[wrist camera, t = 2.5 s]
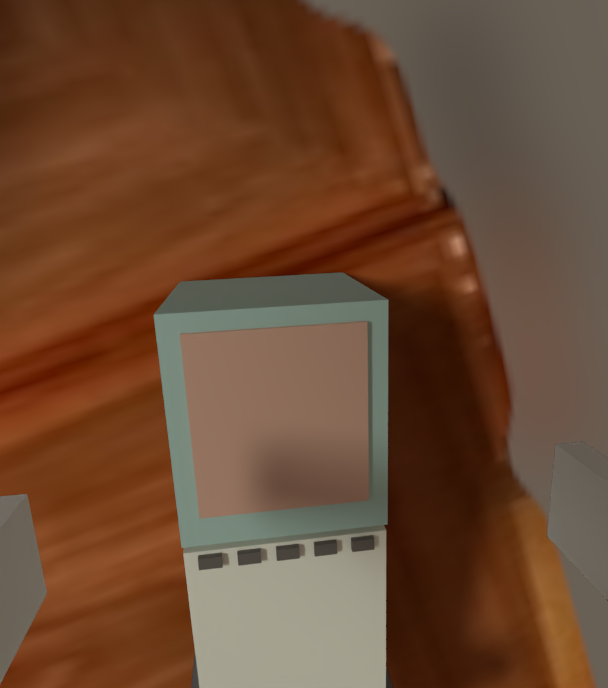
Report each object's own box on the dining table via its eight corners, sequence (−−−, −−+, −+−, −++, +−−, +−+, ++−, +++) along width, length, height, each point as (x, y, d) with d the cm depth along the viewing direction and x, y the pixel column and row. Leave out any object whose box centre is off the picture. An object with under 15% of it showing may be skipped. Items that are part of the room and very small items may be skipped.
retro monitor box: (179, 281, 24) (152, 315, 17) (342, 272, 25) (390, 300, 18) (197, 451, 27) (181, 551, 19) (346, 437, 28) (389, 527, 20)
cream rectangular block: (175, 458, 27) (142, 591, 18) (366, 440, 28) (431, 556, 19) (203, 694, 31) (188, 903, 22) (368, 670, 32) (422, 858, 23)
